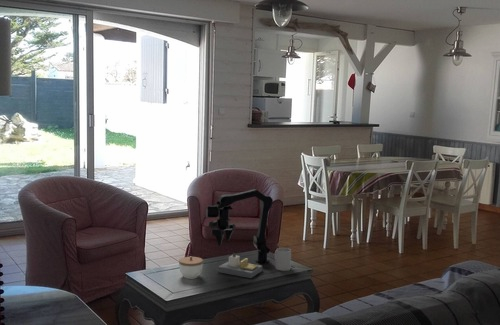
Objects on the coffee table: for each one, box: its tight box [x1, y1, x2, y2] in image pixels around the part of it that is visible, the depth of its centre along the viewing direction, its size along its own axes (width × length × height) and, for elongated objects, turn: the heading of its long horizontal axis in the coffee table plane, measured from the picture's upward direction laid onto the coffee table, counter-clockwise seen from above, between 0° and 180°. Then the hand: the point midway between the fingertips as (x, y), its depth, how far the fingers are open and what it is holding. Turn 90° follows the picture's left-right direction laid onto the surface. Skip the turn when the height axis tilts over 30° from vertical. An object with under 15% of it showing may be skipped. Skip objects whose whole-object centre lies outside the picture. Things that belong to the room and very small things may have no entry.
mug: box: [274, 247, 292, 272], centre depth 295 cm, size 12×8×11 cm
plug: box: [228, 253, 241, 267], centre depth 288 cm, size 4×4×10 cm
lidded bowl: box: [178, 255, 204, 280], centre depth 275 cm, size 13×13×11 cm
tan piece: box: [240, 257, 259, 270], centre depth 284 cm, size 8×8×4 cm
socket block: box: [217, 260, 263, 279], centre depth 286 cm, size 14×20×3 cm
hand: (223, 243), depth 298 cm, fingers open, 9 cm apart
